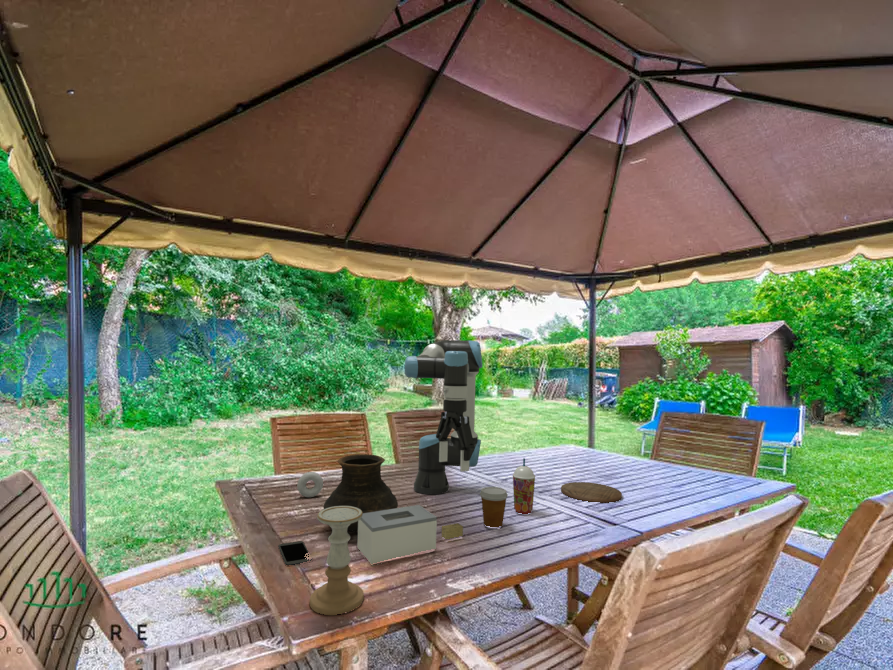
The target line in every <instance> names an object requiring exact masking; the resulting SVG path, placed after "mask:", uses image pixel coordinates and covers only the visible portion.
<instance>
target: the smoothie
mask: <svg viewBox="0 0 893 670" xmlns="http://www.w3.org/2000/svg"><path fill="white" fill-rule="evenodd" d="M522 461H523V463H522V464H523V465H520V466H518V467H517V468H516V469H515V470H514V472H513V474H512V484H513V485H512V487H513V488H512V489H513V491H512V492H513V508H514V510H515V513H516V512H518V513H522V514H528V513H531V514H532V511H533V510H534V509H533V508H534V507H533V506H534V495H535V484H536V483H535V482H536V475H535V473H534V471H533V470H532V469H531V467H529V466H528V465H526V458H525V457H523V459H522Z"/></svg>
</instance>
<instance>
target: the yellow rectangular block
mask: <svg viewBox="0 0 893 670" xmlns="http://www.w3.org/2000/svg"><path fill="white" fill-rule="evenodd" d="M463 534H464V526H463V525H461V524H460V523H452V524H451V523H450V524H447V525H442V526H441V538H442V537H444V538H445V539H450V538H454V537H459V536H463V537H464V535H463Z"/></svg>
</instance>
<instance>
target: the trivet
mask: <svg viewBox="0 0 893 670" xmlns="http://www.w3.org/2000/svg"><path fill="white" fill-rule="evenodd" d="M560 491H561V494H562V493H563V496H565V497H567V496H568V497H567V498H569V497H570V499H572V498H573V499H572V500H575V499H577V500H576V501H579V500H582V501H581V502H584V501H588V502H587V503H590V502H600V503H599V504H610V503H609V502H614V503H617V502H616V501H618V502H620V501H621V500H622V497H623V493H622V491H620V490H619V489H617V488H615V487H613V486H609V485H605V484H601V483H597V482H596V483H595V482H588V481H587V482H586V481H574V482H567V483H564V484H562V485H561V486H560ZM619 500H620V501H619Z"/></svg>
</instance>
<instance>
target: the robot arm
mask: <svg viewBox="0 0 893 670" xmlns="http://www.w3.org/2000/svg"><path fill="white" fill-rule="evenodd" d="M482 368H483V356H482V347H481V343H480V342H479V341H477V340H470V339H469V340H468V339H467V340H461V339H460V340H456V339H454V340H450V339H445V340H444V339H443V340H438V341H435V342H432V343H430V344H428V345H427V346H425V347H424V349H423V350H422V353H420V354H419V355H417V356H416V355H411V356H409V355H407V357H406V358H405V360H404V374H405V375H404V376H405V377H406V378H412V379H413V378H414V379H441V380H443V390H442V391H443V398H444V400H443V402H442V404H443V406H442V410H443V411H442V412H441V413H440V420H439V423H438V428H437V431H436V433H434V434H427V435H424V436H422V437H420V439H419V442H418V466H417V467H418V468H417V469H418V471H417V474H416V477H415V480H414V483H413V491H415V492H416V493H418V494H424V495H440V494H441V495H442V494H445V493H447V492H449V490H450V488H449V487H450V484H449V481H448V477H447V474H446V473H447V472H446V467H459V471H460V472H461V473H462V472H469V471H470V468H475V467H477V465H478V464H479V458H480V457H479V456H480V450H481V443H482V440H481V439H480V438H479V436H478V433H477V432H476V431H475V424H476V423H475V421H476V420H475V418H476V417H475V416H476V376H477V375H478V374H479V372H480V369H482ZM452 430H454V431H453V432H451V431H452ZM449 436H450V437H449Z"/></svg>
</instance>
